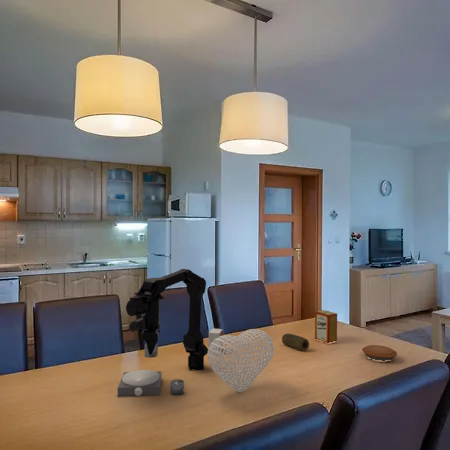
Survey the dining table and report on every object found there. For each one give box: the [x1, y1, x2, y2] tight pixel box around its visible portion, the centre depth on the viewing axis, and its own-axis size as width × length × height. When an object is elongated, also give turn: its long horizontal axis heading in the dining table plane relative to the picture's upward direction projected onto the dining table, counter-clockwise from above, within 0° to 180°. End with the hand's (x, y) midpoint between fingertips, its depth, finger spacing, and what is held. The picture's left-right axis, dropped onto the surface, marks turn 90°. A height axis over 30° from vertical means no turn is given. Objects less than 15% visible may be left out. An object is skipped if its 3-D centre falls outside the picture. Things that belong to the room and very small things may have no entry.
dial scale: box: [117, 369, 163, 397], centre depth 152 cm, size 15×16×4 cm
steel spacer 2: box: [169, 378, 185, 396], centre depth 148 cm, size 5×5×4 cm
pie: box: [361, 344, 398, 361], centre depth 188 cm, size 16×16×5 cm
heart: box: [207, 328, 275, 393], centre depth 149 cm, size 28×16×22 cm, turn 130°
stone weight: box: [281, 333, 310, 352], centre depth 203 cm, size 15×7×7 cm, turn 38°
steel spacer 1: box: [143, 343, 159, 359], centre depth 153 cm, size 5×5×4 cm
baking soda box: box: [314, 309, 338, 343], centre depth 215 cm, size 10×6×16 cm
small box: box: [207, 328, 224, 356], centre depth 194 cm, size 8×6×10 cm
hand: (151, 352), depth 153 cm, fingers closed on steel spacer 1, 5 cm apart
